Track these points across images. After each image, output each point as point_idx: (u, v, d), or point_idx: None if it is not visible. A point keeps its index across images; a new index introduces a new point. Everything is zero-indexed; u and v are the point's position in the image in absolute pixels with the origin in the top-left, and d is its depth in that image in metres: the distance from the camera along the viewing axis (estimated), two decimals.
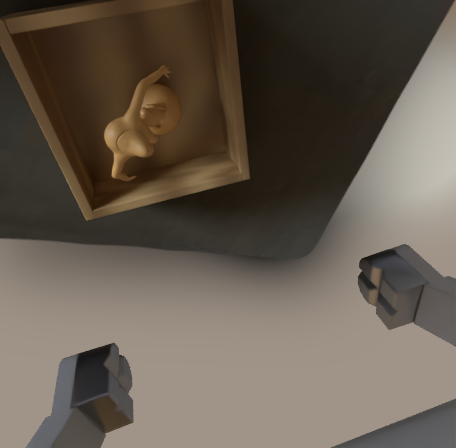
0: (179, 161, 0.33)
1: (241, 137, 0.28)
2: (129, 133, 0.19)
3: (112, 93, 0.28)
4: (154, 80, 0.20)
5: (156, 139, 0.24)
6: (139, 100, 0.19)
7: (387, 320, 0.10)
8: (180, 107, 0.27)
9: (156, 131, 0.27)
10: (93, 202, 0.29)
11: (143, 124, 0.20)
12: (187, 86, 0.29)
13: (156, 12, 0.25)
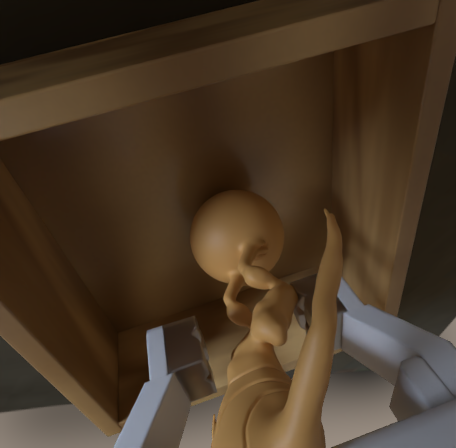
0: None
1: (397, 281, 0.14)
2: None
3: (146, 205, 0.15)
4: (338, 289, 0.06)
5: None
6: (324, 389, 0.06)
7: None
8: (283, 230, 0.14)
9: None
10: (118, 396, 0.16)
11: None
12: (280, 178, 0.16)
13: None
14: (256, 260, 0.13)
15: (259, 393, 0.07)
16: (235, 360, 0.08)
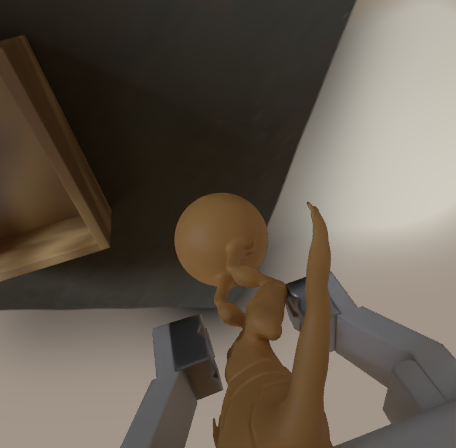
0: (45, 225, 0.29)
1: (82, 208, 0.24)
2: None
3: None
4: (328, 276, 0.07)
5: None
6: (323, 373, 0.06)
7: None
8: (266, 229, 0.14)
9: None
10: None
11: None
12: (29, 149, 0.26)
13: None
14: (243, 260, 0.13)
15: (260, 387, 0.07)
16: (233, 358, 0.08)
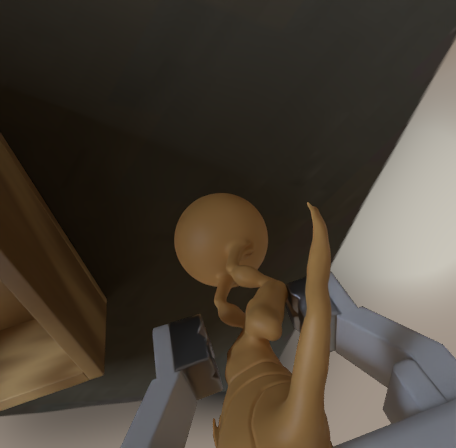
0: (12, 325, 0.21)
1: (59, 334, 0.15)
2: None
3: None
4: None
5: None
6: (324, 374, 0.06)
7: None
8: (266, 229, 0.14)
9: None
10: None
11: None
12: None
13: None
14: (243, 260, 0.13)
15: (260, 387, 0.07)
16: (233, 359, 0.08)
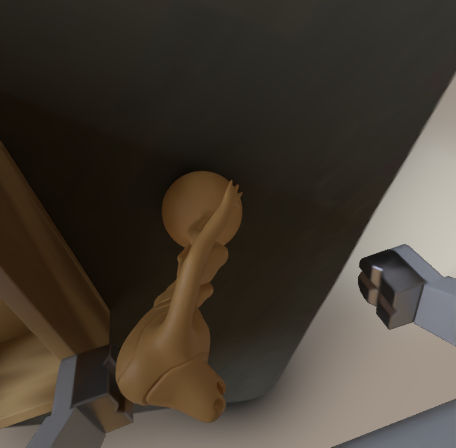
0: (13, 338, 0.20)
1: (62, 352, 0.15)
2: (172, 378, 0.08)
3: None
4: (218, 235, 0.09)
5: (211, 292, 0.13)
6: (190, 299, 0.08)
7: (387, 320, 0.10)
8: (240, 207, 0.16)
9: None
10: None
11: (199, 335, 0.09)
12: None
13: None
14: None
15: (164, 311, 0.09)
16: (161, 294, 0.11)
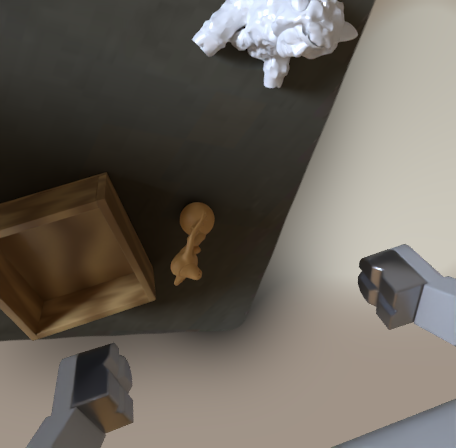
0: (108, 280, 0.42)
1: (140, 277, 0.37)
2: (186, 267, 0.30)
3: (45, 248, 0.37)
4: (199, 228, 0.31)
5: (199, 250, 0.35)
6: (191, 245, 0.30)
7: (387, 320, 0.10)
8: (213, 217, 0.38)
9: None
10: (38, 325, 0.39)
11: (194, 257, 0.31)
12: (103, 235, 0.38)
13: None
14: None
15: (183, 251, 0.31)
16: (182, 248, 0.33)
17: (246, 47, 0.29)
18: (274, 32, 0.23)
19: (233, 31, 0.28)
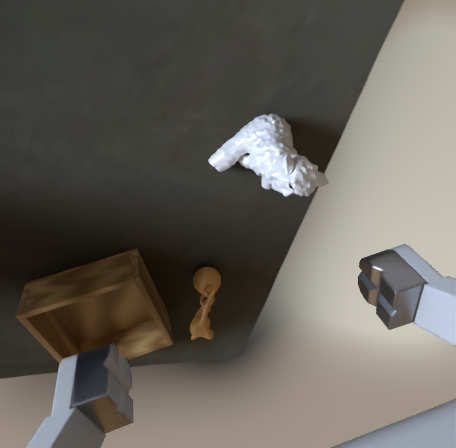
0: (132, 325, 0.52)
1: (162, 328, 0.46)
2: (202, 330, 0.39)
3: (85, 304, 0.47)
4: (211, 299, 0.40)
5: None
6: (205, 314, 0.39)
7: (387, 320, 0.10)
8: (220, 279, 0.48)
9: None
10: None
11: (207, 321, 0.40)
12: (131, 293, 0.48)
13: None
14: (209, 289, 0.46)
15: (199, 316, 0.41)
16: (197, 311, 0.42)
17: (249, 167, 0.38)
18: (270, 178, 0.33)
19: (239, 157, 0.38)
